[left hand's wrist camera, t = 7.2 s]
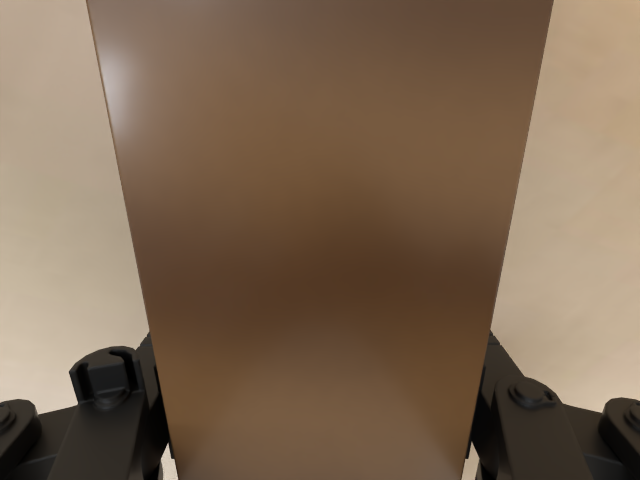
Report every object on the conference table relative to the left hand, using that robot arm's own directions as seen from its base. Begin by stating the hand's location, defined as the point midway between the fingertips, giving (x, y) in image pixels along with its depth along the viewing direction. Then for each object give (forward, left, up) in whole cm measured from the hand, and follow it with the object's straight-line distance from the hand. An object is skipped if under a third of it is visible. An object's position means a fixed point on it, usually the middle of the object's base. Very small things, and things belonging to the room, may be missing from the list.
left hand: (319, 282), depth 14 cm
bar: (+8, +25, -1) cm, 26 cm away
